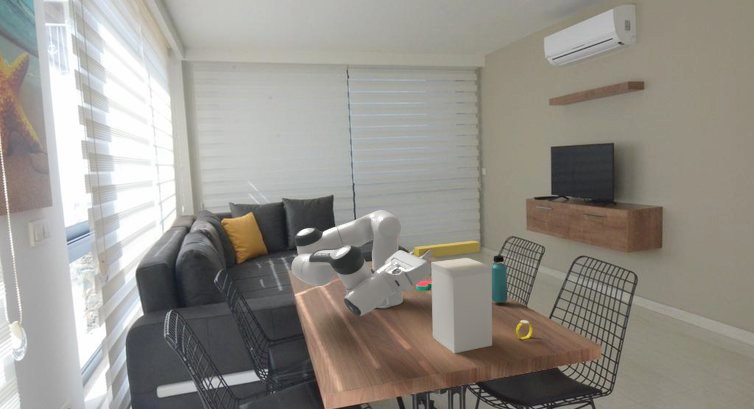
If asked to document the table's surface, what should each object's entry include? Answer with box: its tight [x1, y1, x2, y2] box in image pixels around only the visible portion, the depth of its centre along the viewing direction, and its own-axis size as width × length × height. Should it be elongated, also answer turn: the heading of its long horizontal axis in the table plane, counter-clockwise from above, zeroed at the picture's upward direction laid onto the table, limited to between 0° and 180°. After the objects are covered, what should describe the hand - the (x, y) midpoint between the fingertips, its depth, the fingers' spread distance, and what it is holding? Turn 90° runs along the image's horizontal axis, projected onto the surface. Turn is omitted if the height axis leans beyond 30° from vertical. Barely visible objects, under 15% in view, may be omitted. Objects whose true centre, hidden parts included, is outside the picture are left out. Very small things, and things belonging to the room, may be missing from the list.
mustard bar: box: [413, 240, 481, 258], centre depth 143 cm, size 22×4×3 cm, turn 111°
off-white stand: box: [430, 257, 493, 354], centre depth 147 cm, size 14×14×26 cm
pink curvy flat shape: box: [415, 280, 432, 291], centre depth 214 cm, size 20×16×2 cm
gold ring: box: [515, 319, 534, 341], centre depth 148 cm, size 6×3×6 cm, turn 111°
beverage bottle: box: [491, 255, 508, 303], centre depth 184 cm, size 6×7×20 cm
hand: (427, 250), depth 140 cm, fingers closed on mustard bar, 3 cm apart
